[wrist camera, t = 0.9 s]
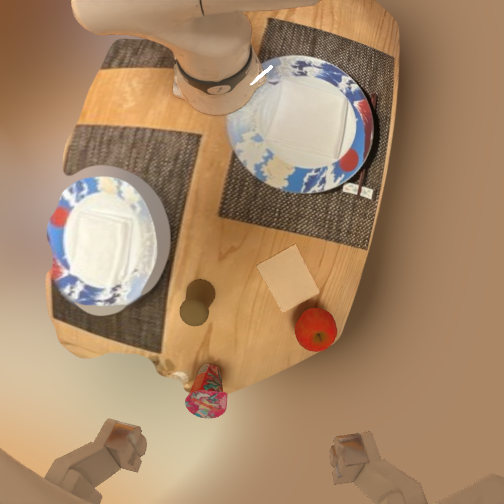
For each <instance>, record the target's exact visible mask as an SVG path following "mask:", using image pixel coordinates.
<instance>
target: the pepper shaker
mask: <svg viewBox="0 0 504 504" xmlns="http://www.w3.org/2000/svg"><path fill="white" fill-rule="evenodd" d="M214 298H215V290H214V288H213V286H212V285H211V284H210V283H209V282H207V281H206V280H201V279H200V280H195V281H193V282H191V283H190V284H189V286H188V287H187V292H186V300H185V301H184V302H183V303H182V305H181V307H180V316H181V318H182V320H183V321H184V322H185V323H186V324H188V325H190V326H199V325H202V324H203V323H204V322H206V320H207V318H208V315H209V309H208V308H209V307H210V305H211V303H212V302H213V300H214Z"/></svg>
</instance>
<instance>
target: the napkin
mask: <svg viewBox="0 0 504 504" xmlns="http://www.w3.org/2000/svg"><path fill="white" fill-rule="evenodd" d="M256 267H257V269H258V271H259V272H260V274H261V276H262V278H263V279H264V281H265V283H266V285H267V286H268V288H269V290H270V292H271V293H272V295H273V297H274V298H275V300H276V302H277V304H278V305H279V307H280V309H281V311H282V312H283V313H284V312H286V311H288V310H290V309H291V308H293V307H295V306H297V305H299V304H301V303H302V302H304V301H306V300H308V299H310V298H311V297H313V296H315V295H317V294H319V293H320V292H319V290H318V288H317V286H316V284H315V282H314V280H313V278H312V276H311V274H310V272H309V270H308V268H307V266H306V264H305V262H304V260H303V258H302V256H301V254H300V252H299V250H298V248H297V246H296V244H294V245H292V246H290V247H289V248H287V249H285V250H283V251H281V252H280V253H278V254H276V255H274V256H272V257H271V258H269V259H267V260H265V261H263V262H261V263H260V264H258V265H256Z"/></svg>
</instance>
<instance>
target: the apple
mask: <svg viewBox="0 0 504 504" xmlns="http://www.w3.org/2000/svg"><path fill="white" fill-rule="evenodd" d="M295 334H296V338H297V340H298V342H299V344H300V345H301V346H303V347H304V348H305V349H307V350H309V351H315V352H318V351H323V350H325V349H327V348H328V347H329V346H330V345H331V344H332V343H333V342H334V340H335V338H336V336H337V328H336V323H335V320H334V318H333V316H332V315H331V314H330V313H329V312H328V311H326V310H323V309H320V308H310V309H308V310H306V311H304V312H303V314H302V315H301V316H300V318H299V319H298V321H297V323H296V325H295Z"/></svg>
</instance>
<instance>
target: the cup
mask: <svg viewBox="0 0 504 504" xmlns="http://www.w3.org/2000/svg"><path fill="white" fill-rule="evenodd" d="M185 404H186V407H187V409H188V410H189V411H190V412H191V413H192V414H194V415H196V416H198V417H201V418H215V417H219V416H220V415H222V414H223V413H224V412H225V410H226V406H227V393H226V392H223V387H222V380H221V372H220V369H219V368H218V367H217V366H215V365H213V364H205V365H203V366H201V368H200V370H199V372H198V374H197V377H196V379H195V381H194V384H193V386H192V389H191V391H190V393H189V395H188V397H187V398H186V400H185Z"/></svg>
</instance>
